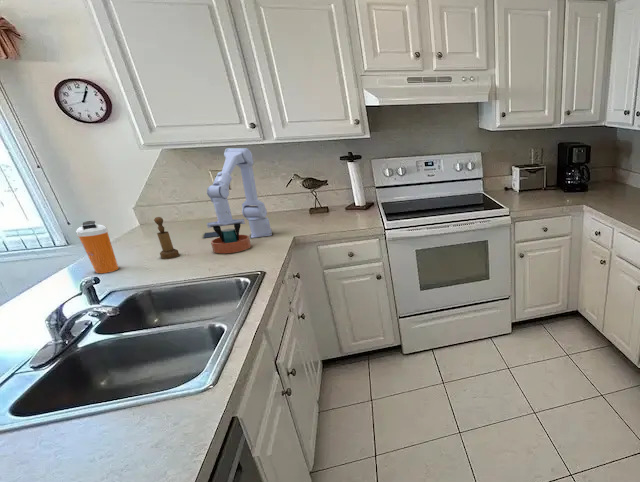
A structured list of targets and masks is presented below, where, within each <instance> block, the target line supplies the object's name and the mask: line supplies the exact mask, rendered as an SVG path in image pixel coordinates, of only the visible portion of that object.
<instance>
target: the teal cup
mask: <svg viewBox="0 0 640 482" xmlns="http://www.w3.org/2000/svg"><path fill="white" fill-rule="evenodd" d="M221 232H222V236H223V239H224V243H233V242H238V240H237V236H236V231H235V228H225V229H221Z"/></svg>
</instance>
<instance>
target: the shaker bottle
mask: <svg viewBox="0 0 640 482" xmlns="http://www.w3.org/2000/svg"><path fill="white" fill-rule="evenodd" d="M108 232H109V230H108V228H107V226H105V225H104V224H97V222H96V221H95V220H85V221H83V222H82V224H81V225H80V226H79V227H78V228H77V229H76V230H75V233H76V236H77V237H78V239H79V241H80V242H81V244H82V246H83V249H84V250H85V253H86V255H87V257H88V259H89V262H90V264H91V266H92V267H93V270H94V272H95V274H107V273H112V272H115V271H117V270H119V268H120V267H119V264H118V262H117V258H116V254H115V252H114V249H113V245H112V241H111V239H110V236H109V233H108Z"/></svg>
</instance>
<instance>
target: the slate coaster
mask: <svg viewBox="0 0 640 482" xmlns="http://www.w3.org/2000/svg"><path fill="white" fill-rule="evenodd" d="M209 238H219V235H218V234H217V233H216V232H215V231H210V232H205V233H204V235H203V239H209Z"/></svg>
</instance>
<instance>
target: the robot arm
mask: <svg viewBox="0 0 640 482" xmlns="http://www.w3.org/2000/svg"><path fill="white" fill-rule="evenodd" d="M223 157H224V159H225V160H224V163H223V166H222V169H221V171H219V172H217V174H216V176H215V178H214V180H213V182H212V184H211V185H209V186H208V187H207V189H206V194H207V197H208V198H209V200H210V201H211V203H212V204H213V207H214V211H215V215H216V218H217V221H211V222H206V226H207V229H211V228H213V232H216V233H217V234H218V235H219V237H220V238H221V240H222V242H224V239H223V236H222V232H221V231H222V228H221V227H226V226H233V227H234V228H233V229H235V232H236V236H237V240H239V235H240V230H241V225H245V224H246V221H247V222H248V225H249V229H250V238H251V239H256V238H262V237H263V238H264V237H270V236H273V234H272V231H273V230H272V228H271V224H270V219H269V217H267V215H268V212H267V207H266V205H265V203H264V202H263V201H261V200H260V199H259V198H258V193H257V192H258V191H257V186H256V180H255V174H254V169H253V166H254V157H253V152H251V150H250V149H249V148H247V147H244V148H243V147H241V148H240V147H239V148H238V147H237V148H235V147H233V148H232V147H227V148H225V150H224V153H223ZM236 166H237V167H238V168H239V169H240V175H241V178H242V184H243V191H244V197H245V201H244V202H242V204H241V206H242V209H241V213H242V217H244V218H238V219H237V218H235V219H233V215H232V211H231V208H230V203H229V200H228V197H229V196H230V184H231V182H232V179H233V177H232V173H233V171H234V169H235V168H236ZM245 219H246V221H245ZM270 233H271V234H270ZM219 237H218V238H219Z"/></svg>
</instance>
